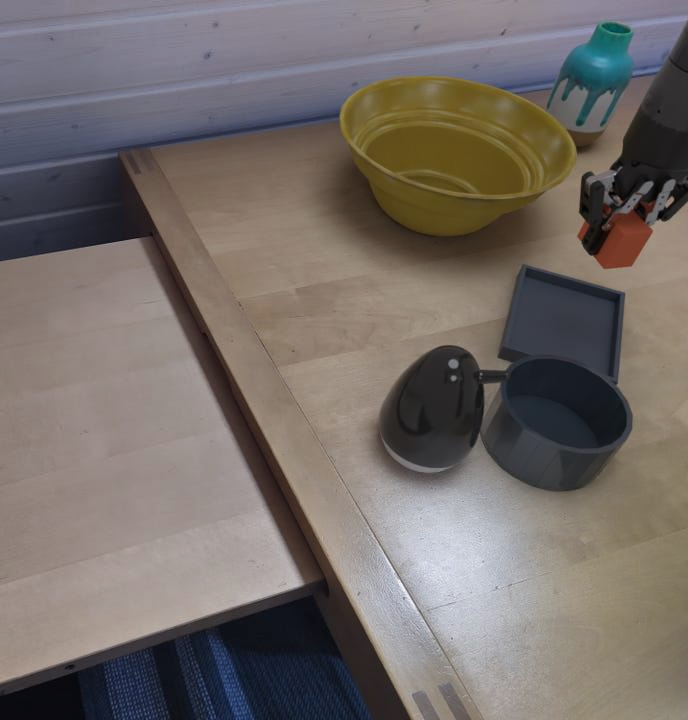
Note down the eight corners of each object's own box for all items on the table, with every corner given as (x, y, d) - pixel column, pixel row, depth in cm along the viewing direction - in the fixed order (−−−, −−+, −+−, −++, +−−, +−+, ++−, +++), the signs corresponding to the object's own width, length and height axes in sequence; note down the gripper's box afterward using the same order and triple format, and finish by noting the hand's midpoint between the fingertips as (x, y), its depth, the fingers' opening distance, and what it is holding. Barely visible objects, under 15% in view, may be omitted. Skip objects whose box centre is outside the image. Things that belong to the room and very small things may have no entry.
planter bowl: (491, 147, 120) (519, 70, 110) (579, 272, 99) (624, 190, 89) (305, 155, 117) (316, 76, 107) (355, 285, 96) (375, 202, 86)
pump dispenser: (463, 499, 74) (513, 409, 63) (364, 472, 76) (395, 379, 65) (470, 425, 80) (516, 331, 69) (378, 401, 82) (409, 306, 71)
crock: (565, 388, 85) (590, 348, 79) (627, 483, 76) (659, 445, 71) (461, 400, 83) (479, 360, 78) (512, 499, 74) (537, 461, 69)
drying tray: (517, 274, 98) (522, 263, 97) (618, 303, 95) (625, 292, 93) (497, 357, 88) (503, 346, 86) (610, 393, 84) (618, 382, 83)
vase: (525, 141, 122) (570, 28, 108) (546, 117, 128) (592, 7, 114) (587, 164, 118) (642, 49, 104) (606, 137, 124) (661, 25, 109)
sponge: (603, 233, 84) (623, 198, 80) (632, 266, 80) (653, 231, 76) (576, 236, 84) (594, 200, 80) (603, 269, 80) (624, 233, 76)
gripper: (639, 135, 65) (564, 276, 78) (775, 125, 67) (680, 265, 80) (597, 95, 70) (533, 234, 83) (724, 87, 72) (642, 224, 85)
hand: (605, 248), depth 82 cm, fingers closed on sponge, 3 cm apart
